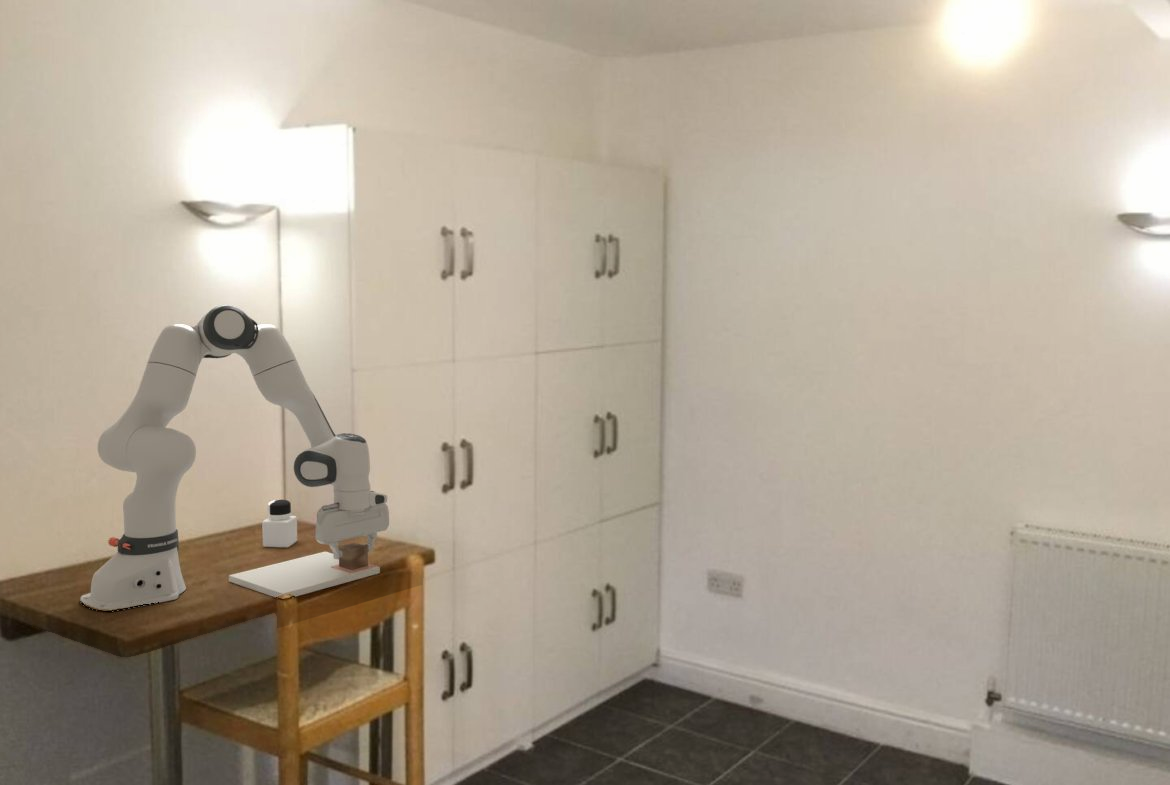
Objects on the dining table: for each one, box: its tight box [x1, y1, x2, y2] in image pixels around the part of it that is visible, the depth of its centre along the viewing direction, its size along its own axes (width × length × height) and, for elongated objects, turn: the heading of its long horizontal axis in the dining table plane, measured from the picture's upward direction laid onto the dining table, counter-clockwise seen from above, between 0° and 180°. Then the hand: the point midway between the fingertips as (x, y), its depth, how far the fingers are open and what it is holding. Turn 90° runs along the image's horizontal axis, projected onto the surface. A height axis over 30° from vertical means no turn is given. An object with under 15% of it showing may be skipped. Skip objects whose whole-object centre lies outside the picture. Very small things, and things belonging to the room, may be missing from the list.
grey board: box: [228, 551, 381, 599], centre depth 260 cm, size 28×22×2 cm
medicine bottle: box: [261, 499, 298, 549], centre depth 290 cm, size 7×7×12 cm
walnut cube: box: [338, 542, 369, 570], centre depth 263 cm, size 5×5×5 cm
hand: (353, 554), depth 263 cm, fingers open, 8 cm apart
